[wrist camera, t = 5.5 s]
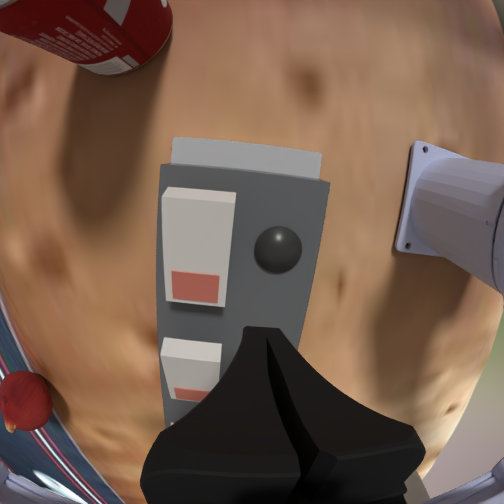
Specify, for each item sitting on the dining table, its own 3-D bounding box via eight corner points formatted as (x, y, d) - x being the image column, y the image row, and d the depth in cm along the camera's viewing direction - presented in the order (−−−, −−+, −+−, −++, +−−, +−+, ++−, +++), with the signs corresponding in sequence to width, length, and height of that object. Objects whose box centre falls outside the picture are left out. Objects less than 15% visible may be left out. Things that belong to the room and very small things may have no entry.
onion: (24, 384, 23) (-8, 431, 16) (15, 347, 22) (-25, 394, 14) (66, 405, 24) (38, 458, 17) (61, 369, 23) (24, 426, 15)
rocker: (236, 192, 14) (234, 203, 13) (226, 292, 17) (224, 307, 16) (168, 186, 13) (161, 197, 12) (170, 286, 17) (165, 301, 16)
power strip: (319, 153, 18) (338, 153, 14) (262, 443, 26) (265, 472, 23) (175, 137, 17) (160, 133, 14) (174, 436, 25) (169, 464, 22)
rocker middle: (221, 343, 16) (220, 363, 15) (218, 388, 20) (217, 404, 19) (164, 337, 16) (160, 356, 15) (173, 383, 19) (170, 399, 18)
